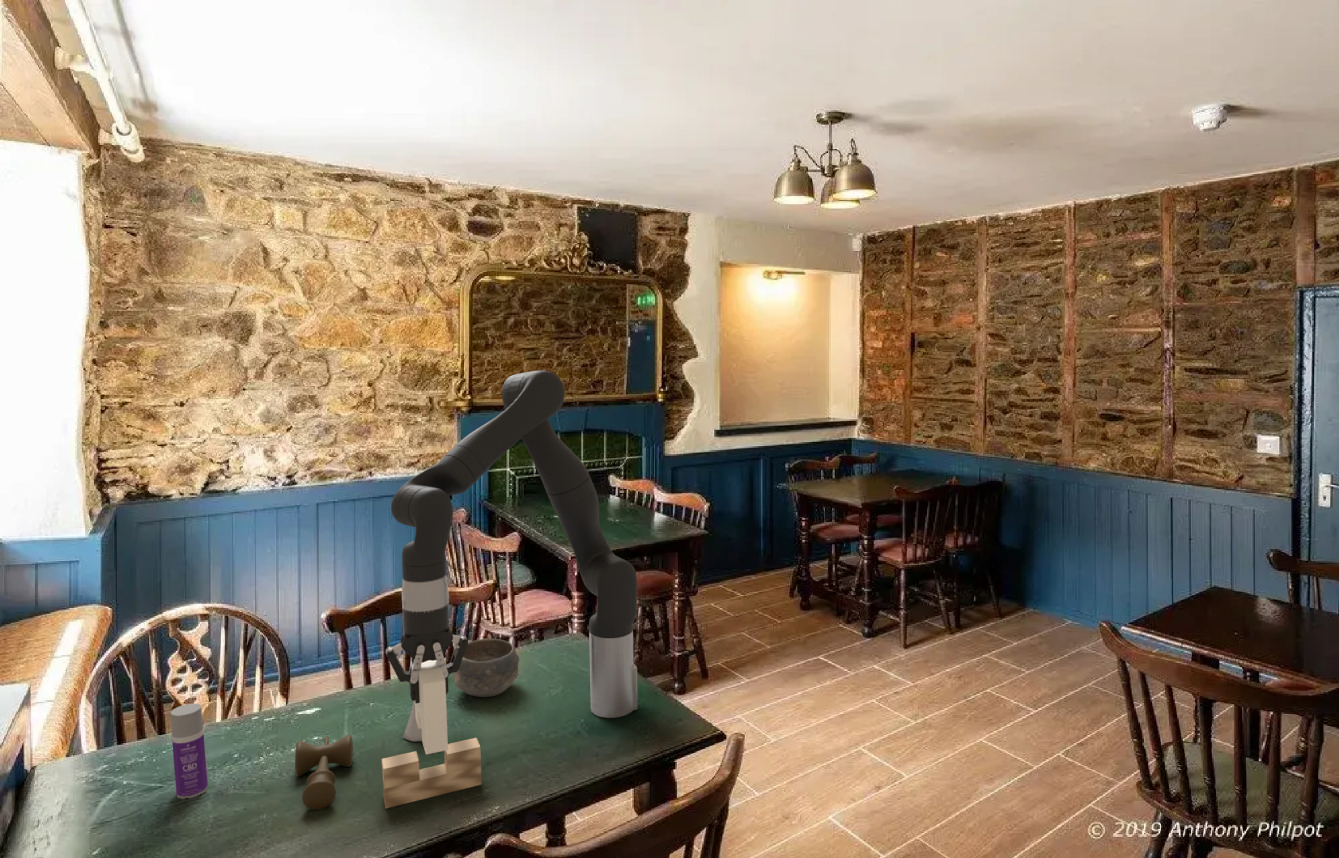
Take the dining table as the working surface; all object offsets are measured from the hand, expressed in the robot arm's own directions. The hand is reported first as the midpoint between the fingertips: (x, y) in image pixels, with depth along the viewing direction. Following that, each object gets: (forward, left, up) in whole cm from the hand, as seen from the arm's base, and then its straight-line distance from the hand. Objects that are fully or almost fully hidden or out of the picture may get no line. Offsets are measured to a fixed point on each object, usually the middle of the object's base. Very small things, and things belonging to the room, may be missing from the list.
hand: (429, 698), depth 129 cm
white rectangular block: (0, 0, -6) cm, 6 cm away
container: (+38, -18, -17) cm, 46 cm away
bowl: (-17, -34, -17) cm, 42 cm away
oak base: (0, 0, -17) cm, 17 cm away
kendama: (+17, -12, -17) cm, 27 cm away
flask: (-1, -21, -17) cm, 27 cm away
